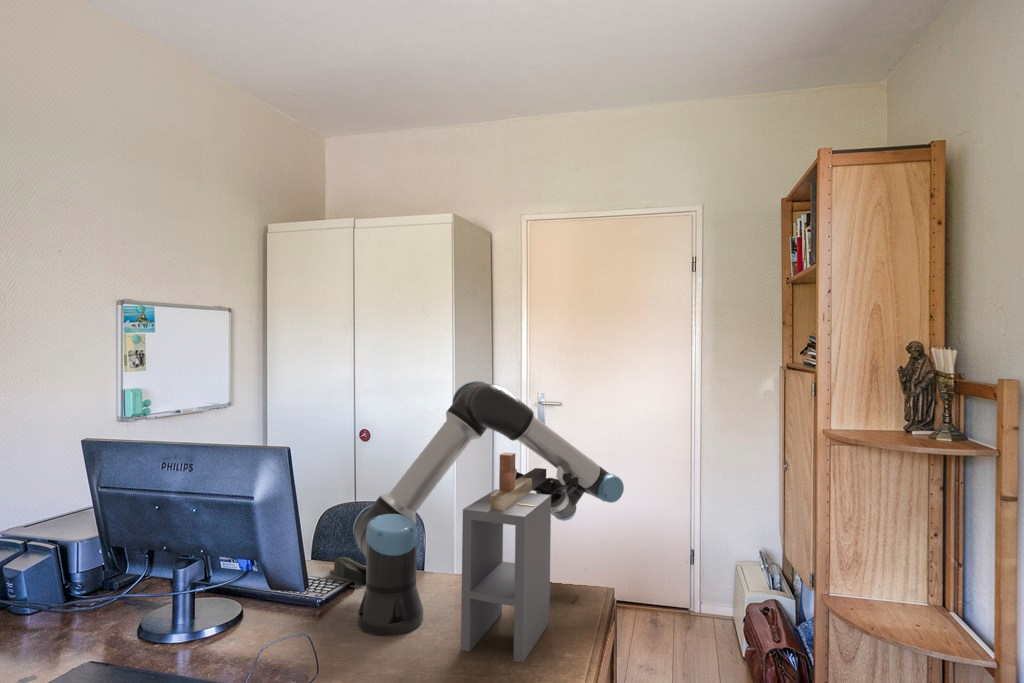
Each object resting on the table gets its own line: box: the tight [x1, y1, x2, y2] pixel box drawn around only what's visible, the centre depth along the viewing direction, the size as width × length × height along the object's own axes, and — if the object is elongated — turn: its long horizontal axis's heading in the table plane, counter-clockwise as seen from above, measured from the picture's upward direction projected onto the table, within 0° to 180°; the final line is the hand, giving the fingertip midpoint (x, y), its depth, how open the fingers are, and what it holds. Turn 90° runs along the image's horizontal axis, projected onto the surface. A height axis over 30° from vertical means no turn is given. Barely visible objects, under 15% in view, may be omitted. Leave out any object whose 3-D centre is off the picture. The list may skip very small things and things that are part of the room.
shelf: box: [460, 488, 552, 664], centre depth 133 cm, size 14×19×30 cm
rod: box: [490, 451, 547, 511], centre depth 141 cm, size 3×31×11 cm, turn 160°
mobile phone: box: [329, 556, 366, 586], centre depth 164 cm, size 5×3×15 cm
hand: (532, 469), depth 149 cm, fingers open, 13 cm apart
